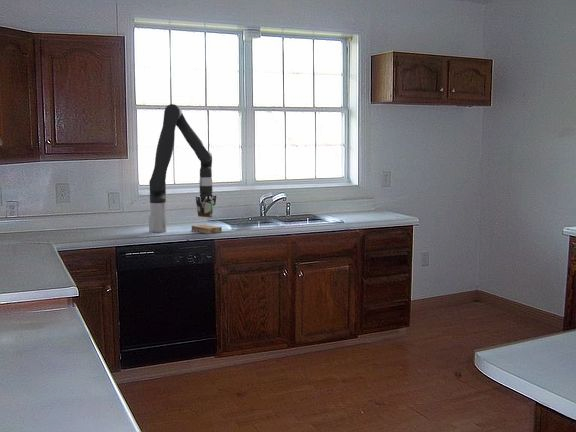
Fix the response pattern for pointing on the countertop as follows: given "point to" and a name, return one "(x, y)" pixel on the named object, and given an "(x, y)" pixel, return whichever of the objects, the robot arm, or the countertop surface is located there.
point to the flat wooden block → (207, 228)
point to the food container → (206, 209)
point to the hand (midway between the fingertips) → (206, 213)
